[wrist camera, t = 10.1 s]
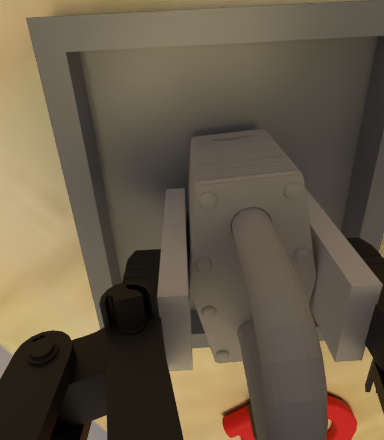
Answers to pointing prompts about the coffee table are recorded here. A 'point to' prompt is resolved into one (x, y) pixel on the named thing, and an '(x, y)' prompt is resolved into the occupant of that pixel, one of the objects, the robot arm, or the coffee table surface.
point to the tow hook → (337, 413)
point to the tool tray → (210, 113)
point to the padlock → (257, 277)
